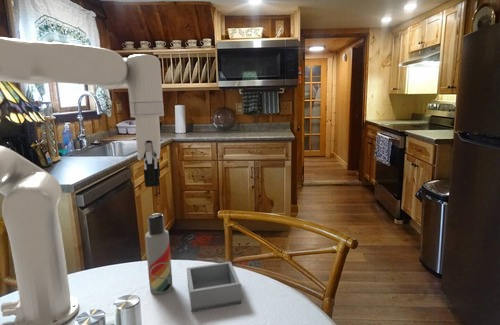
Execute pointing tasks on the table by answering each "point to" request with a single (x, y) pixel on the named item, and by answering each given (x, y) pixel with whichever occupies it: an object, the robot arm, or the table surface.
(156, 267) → the lotion bottle
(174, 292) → the table surface
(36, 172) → the robot arm
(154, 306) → the table surface
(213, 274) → the box
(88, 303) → the table surface
